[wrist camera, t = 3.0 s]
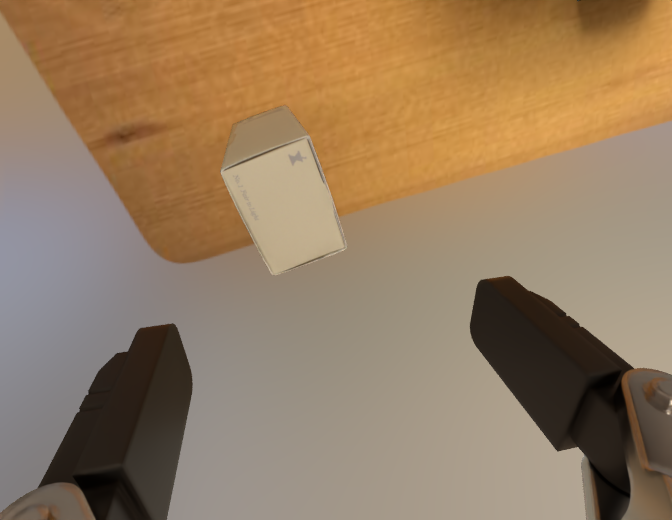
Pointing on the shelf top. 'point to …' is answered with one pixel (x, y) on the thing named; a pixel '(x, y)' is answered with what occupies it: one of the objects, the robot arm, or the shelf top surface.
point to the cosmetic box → (281, 191)
